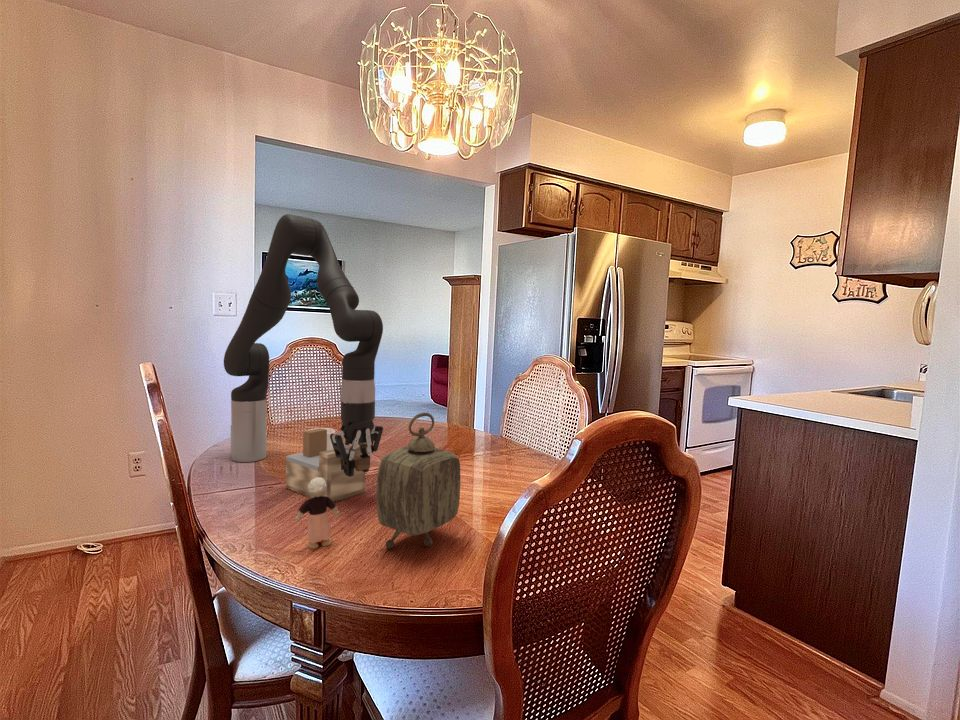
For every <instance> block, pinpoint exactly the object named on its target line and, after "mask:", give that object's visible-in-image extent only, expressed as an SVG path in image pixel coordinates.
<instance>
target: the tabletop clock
mask: <svg viewBox="0 0 960 720" xmlns="http://www.w3.org/2000/svg"><path fill="white" fill-rule="evenodd" d="M423 417H428V418H430V420H431V425H430V427H428V429H426V430H425V428H424V427H420V428H418V432H414V431H413V430H412V426H413V423H414V422H415V421H416V420H417V419H419V418H423ZM434 426H435V419H434V416H433V415H432V414H431V413H429V412H421V413H418V414H416V415H414V416H413V417H412V418H411V419H410V421H409V423H408V431H409V433H410V435H412V436H414V437H413V438H412V439H411V440H410V441H409V443H408V444H407V446H403V447H400V448H398V449H395V450H393V451H390V452H388V453H387V454H385V455H384V456H383V457H382V458H381V459H380V462H379V466H378V471H377V480H376V492H375V495H376V513H377V518H378V522H379V524H380V525H381V526H384V527H387V528H389V529H393V530H395V532H394V533H393V536H392V537H391V539H387V540H386V541H385V542H384V543H385V547H386V549H389V550H390V549H393V547H394V546H395V540H396V539H397V537H398V536H399V535H400V534H401V533H403V534H406V535H409V536H419V535H422V534H424V535H425V538H424V540H423V543H424V546H426V547H431V546H432V545H433V542H434V541H433V539H432V537H430V534H429V532H430V531H433V530H435V529H438V528H440V527H442V526H443V525H446V524H447V523H449V522H451V520H453V519H454V518H455V517H456V516H457V515H458V511H459V508H460V507H459V506H460V496H461V495H460V494H461V464H460V459H459V458H458V456H457V455H456V454H455V453H454V452H453V451H450V450H445V449H441V448H436V446H435V444H434V441H432V440H431V439H430V437H427V436H425V435H427V434H428V433H430V432H431V431H432V430H433V428H434Z"/></svg>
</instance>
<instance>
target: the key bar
mask: <svg viewBox="0 0 960 720" xmlns="http://www.w3.org/2000/svg"><path fill="white" fill-rule="evenodd" d="M353 460H354V468H356V471H362V470H366V469H369V470H370V469H371V457H370V458H368V457H366V458H361V457H358V456H354V458H353ZM341 464H343V465H344V460H343V459H341Z"/></svg>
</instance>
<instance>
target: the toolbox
mask: <svg viewBox="0 0 960 720" xmlns="http://www.w3.org/2000/svg"><path fill="white" fill-rule="evenodd" d="M350 445H351V446H352V444H350ZM348 454H349V453H348ZM360 455H362V454H361V451H360V446H359V445H358V446H357V450H355V453H354V456H358V457H360ZM317 477H318V478H319V477H320V478H323V479H324V480H325V481H326V485H327V487H326V490H325V492H324V494H323V495H322V496H326V497H329V498H330V499H331V500H332V501H333V502H334V503H336V502H339V501H343V500H345V499H348V498H350V497H354V496H357V495H360V494H363V493H365V492H366V472H363V471H356V468H354V476H351V477H349V476H346V475H345V473H344V465H341V458H337V457H336V455H335V452H334V449H331V450H327V451H323V452H319V471H316V470H314V469H311V468H308V467H305V466H302V465H299V464H296V463H293V462H290V461H287V460H286V459H285V488H286V487H287V488H289V489H291V490H294V491H296V492H298V493H297V494H299V493H301V494H303V495H302V496H304V495H305V496H304V497H306V496H308V497H307V498H309V497H310V498H309V499H311V498H314V496H312V495H311V493H310V492H309V491H308V485H309V483H310V482H311V480H313V479H314V478H317ZM289 489H288V490H289ZM291 490H290V491H291ZM294 491H293V492H294ZM296 492H295V493H296ZM301 494H300V495H301ZM338 500H339V501H338ZM335 501H336V502H335Z"/></svg>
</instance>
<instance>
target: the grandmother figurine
mask: <svg viewBox="0 0 960 720" xmlns="http://www.w3.org/2000/svg"><path fill="white" fill-rule="evenodd" d="M326 487H327V485H326V481H325V480H324V479H323V478H320V477H319V478H318V477H317V478H314V479H313V480H311V482H310V483H309V485H308V491H309V492H310V493H311V495H312V496H314V498H309V499H306V500H305V501H303V502H302V504H301V505H300V506H299V508H298V512H297V515H296V516H295V517H294V518H295V521H298V522H299V521H301V520H302V517H303V515H305V514H306V513H308V516H307V535H308V536H307V538H308V541H307V543H306V546H307V547H308V548H309V549H317V548H319V546H320V545H321V546H322V547H326V546H330V545H331V543H332V538H331V536H330V532H331V531H330V519H329V514H328V508H329V509H330V510H331V512H332V514H333V516H335V517H338V516H339V514H340V511H339V510H338V507H337V505H336V502H333V501H332V500H331V499H330V498H329V497H326V496H322V495H323V494H324V492H325V490H326ZM319 542H320V545H319Z"/></svg>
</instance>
